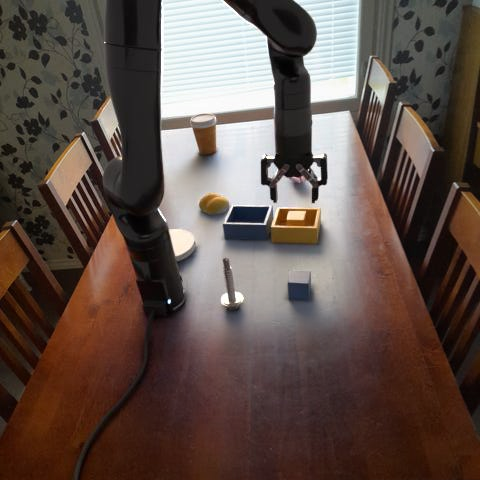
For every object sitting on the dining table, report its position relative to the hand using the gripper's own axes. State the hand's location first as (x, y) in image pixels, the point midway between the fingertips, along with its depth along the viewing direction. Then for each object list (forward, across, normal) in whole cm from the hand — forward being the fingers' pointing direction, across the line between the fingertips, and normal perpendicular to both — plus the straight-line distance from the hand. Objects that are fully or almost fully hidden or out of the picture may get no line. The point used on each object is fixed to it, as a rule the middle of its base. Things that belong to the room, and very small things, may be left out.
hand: (294, 201), depth 102 cm
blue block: (+15, +2, -14) cm, 21 cm away
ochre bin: (+15, -1, +11) cm, 19 cm away
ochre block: (+14, -1, +11) cm, 18 cm away
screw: (+15, -12, -20) cm, 27 cm away
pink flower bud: (+15, -4, +41) cm, 44 cm away
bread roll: (+15, -27, +24) cm, 39 cm away
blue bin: (+15, -14, +12) cm, 24 cm away
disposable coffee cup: (+15, -40, +66) cm, 79 cm away
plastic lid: (+15, -33, +1) cm, 37 cm away
